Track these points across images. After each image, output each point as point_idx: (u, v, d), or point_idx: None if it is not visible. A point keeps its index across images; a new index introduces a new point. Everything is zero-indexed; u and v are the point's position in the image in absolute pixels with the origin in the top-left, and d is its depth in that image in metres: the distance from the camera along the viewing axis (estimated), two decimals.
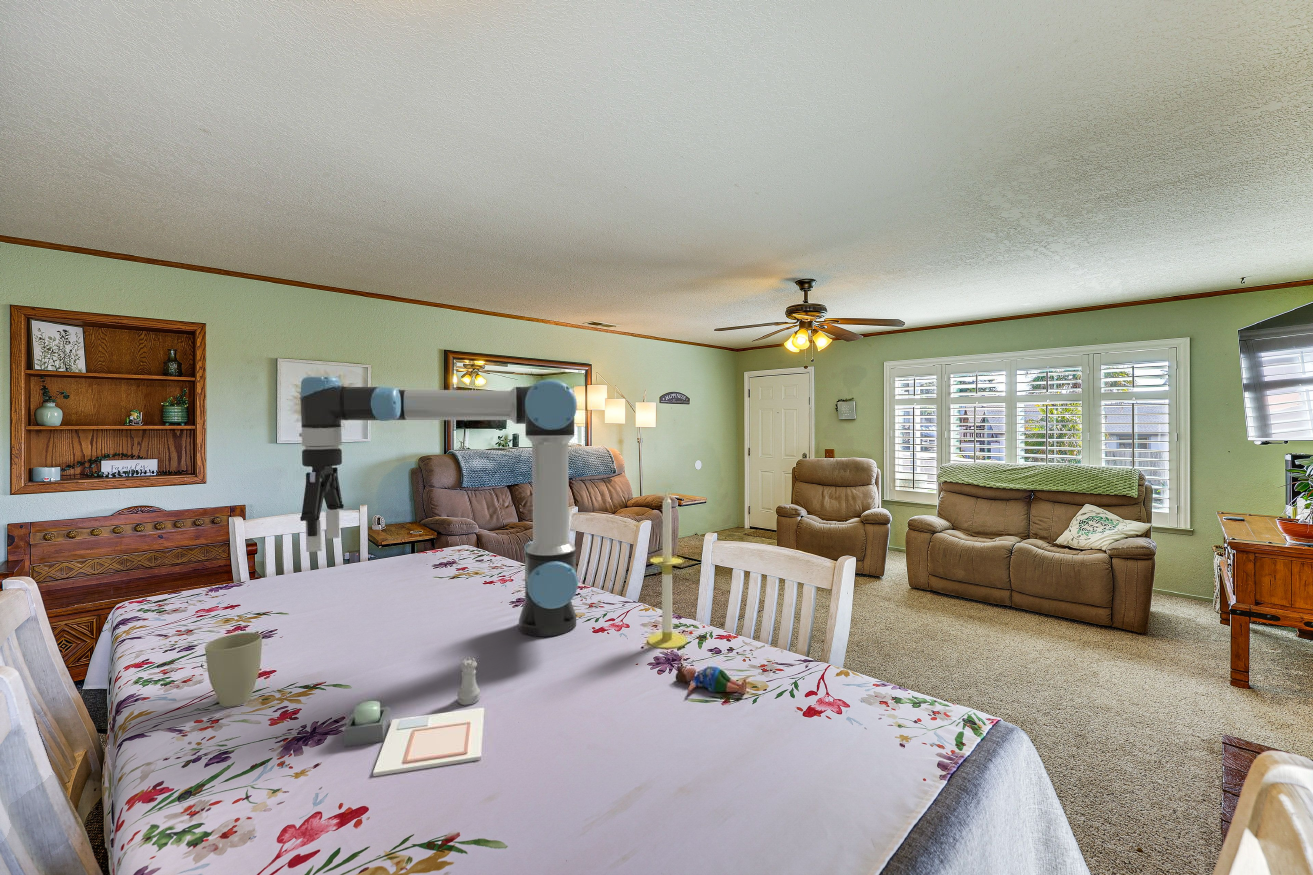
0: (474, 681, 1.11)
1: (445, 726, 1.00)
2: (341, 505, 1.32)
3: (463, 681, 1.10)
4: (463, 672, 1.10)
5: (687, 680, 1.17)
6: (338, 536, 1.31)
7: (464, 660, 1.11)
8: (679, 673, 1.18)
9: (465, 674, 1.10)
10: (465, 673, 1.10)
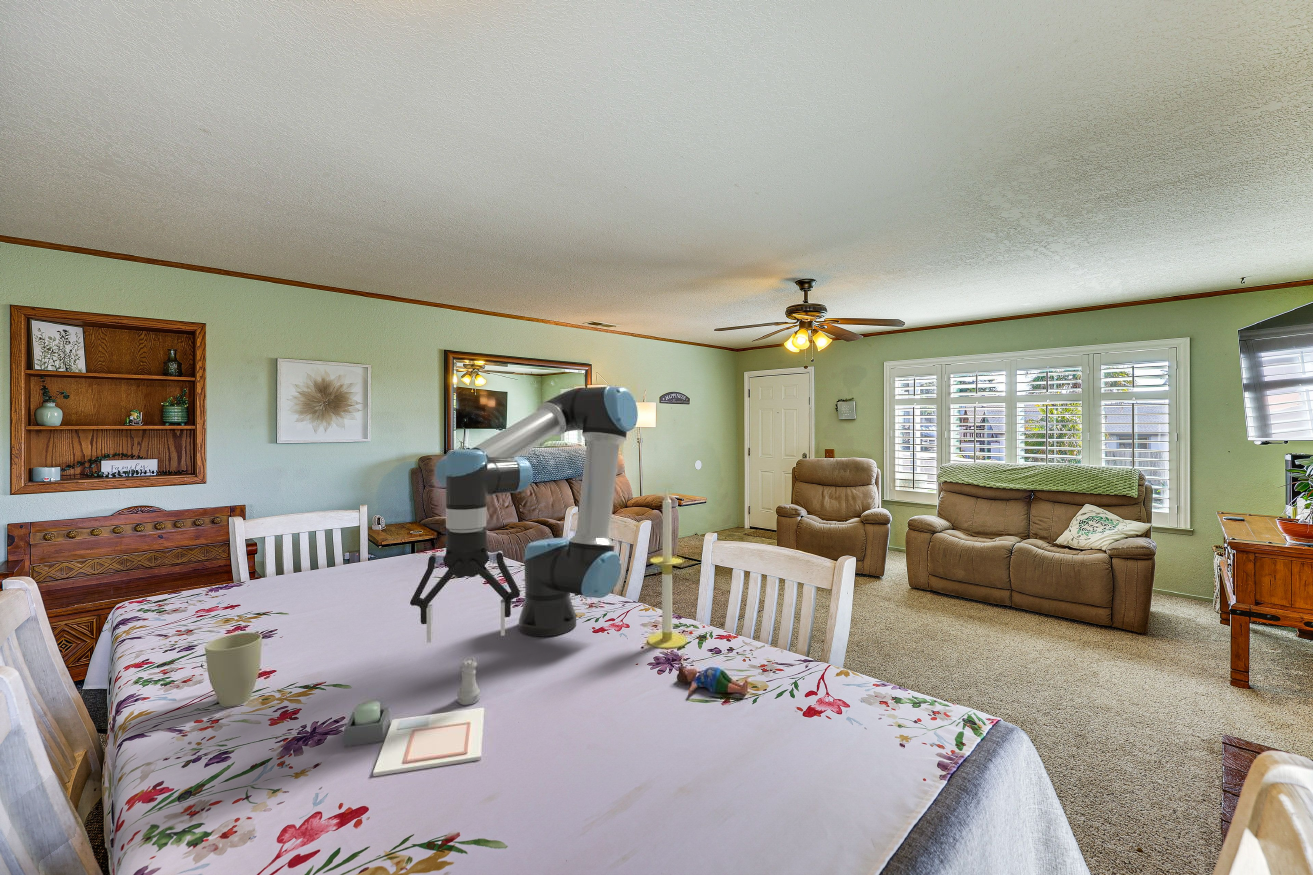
0: (474, 681, 1.11)
1: (445, 726, 1.00)
2: (508, 598, 1.11)
3: (463, 681, 1.10)
4: (463, 672, 1.10)
5: (688, 681, 1.17)
6: (501, 633, 1.11)
7: (464, 660, 1.11)
8: (680, 674, 1.18)
9: (465, 674, 1.10)
10: (465, 673, 1.10)
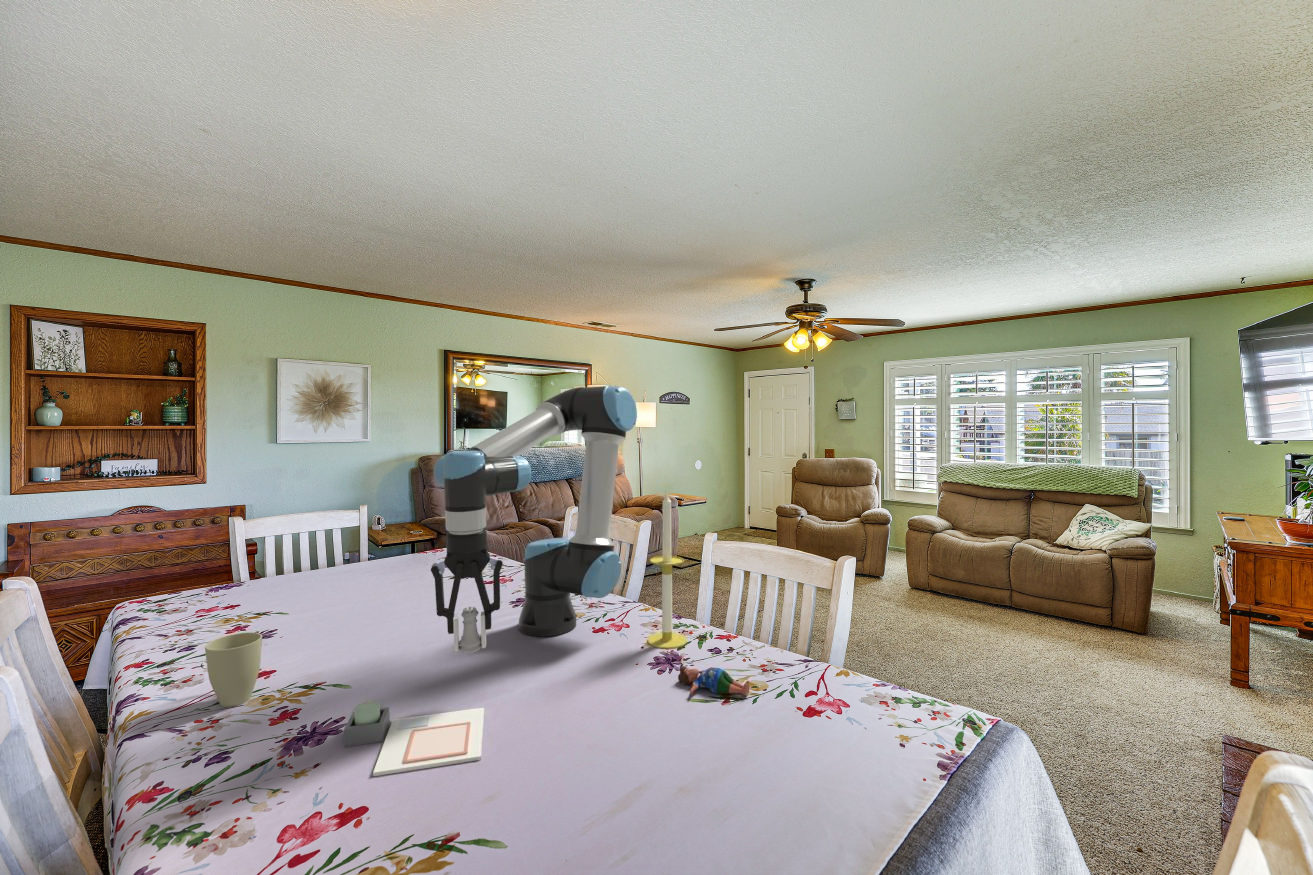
0: (475, 630, 1.11)
1: (445, 726, 1.00)
2: (488, 611, 1.10)
3: (464, 629, 1.10)
4: (464, 620, 1.10)
5: (690, 681, 1.17)
6: (482, 646, 1.11)
7: (465, 609, 1.11)
8: (682, 674, 1.18)
9: (466, 622, 1.10)
10: (466, 621, 1.10)
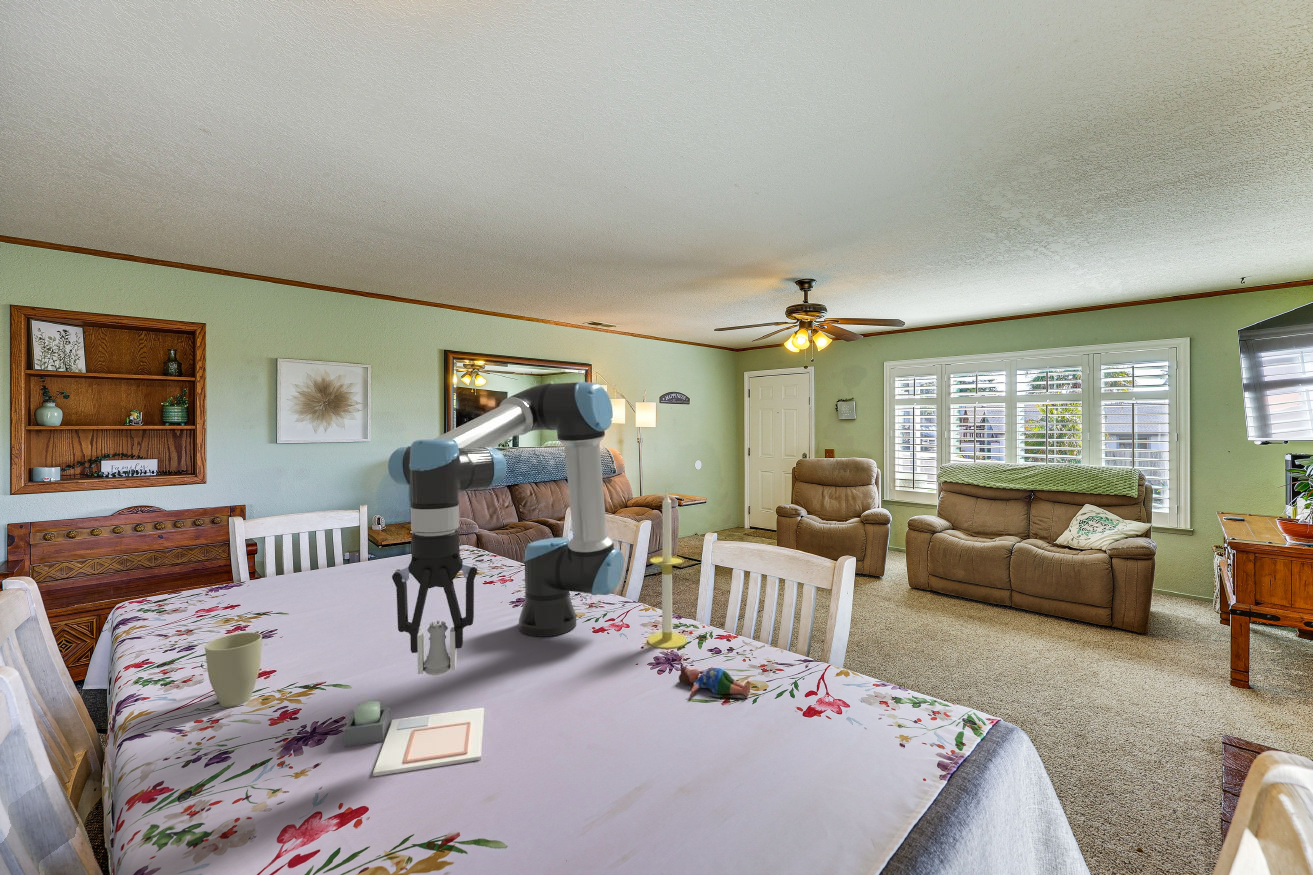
0: (444, 648, 0.95)
1: (445, 726, 1.00)
2: (459, 627, 0.94)
3: (431, 647, 0.94)
4: (431, 637, 0.94)
5: (690, 681, 1.17)
6: (450, 668, 0.95)
7: (433, 623, 0.95)
8: (682, 674, 1.17)
9: (433, 639, 0.94)
10: (433, 638, 0.94)
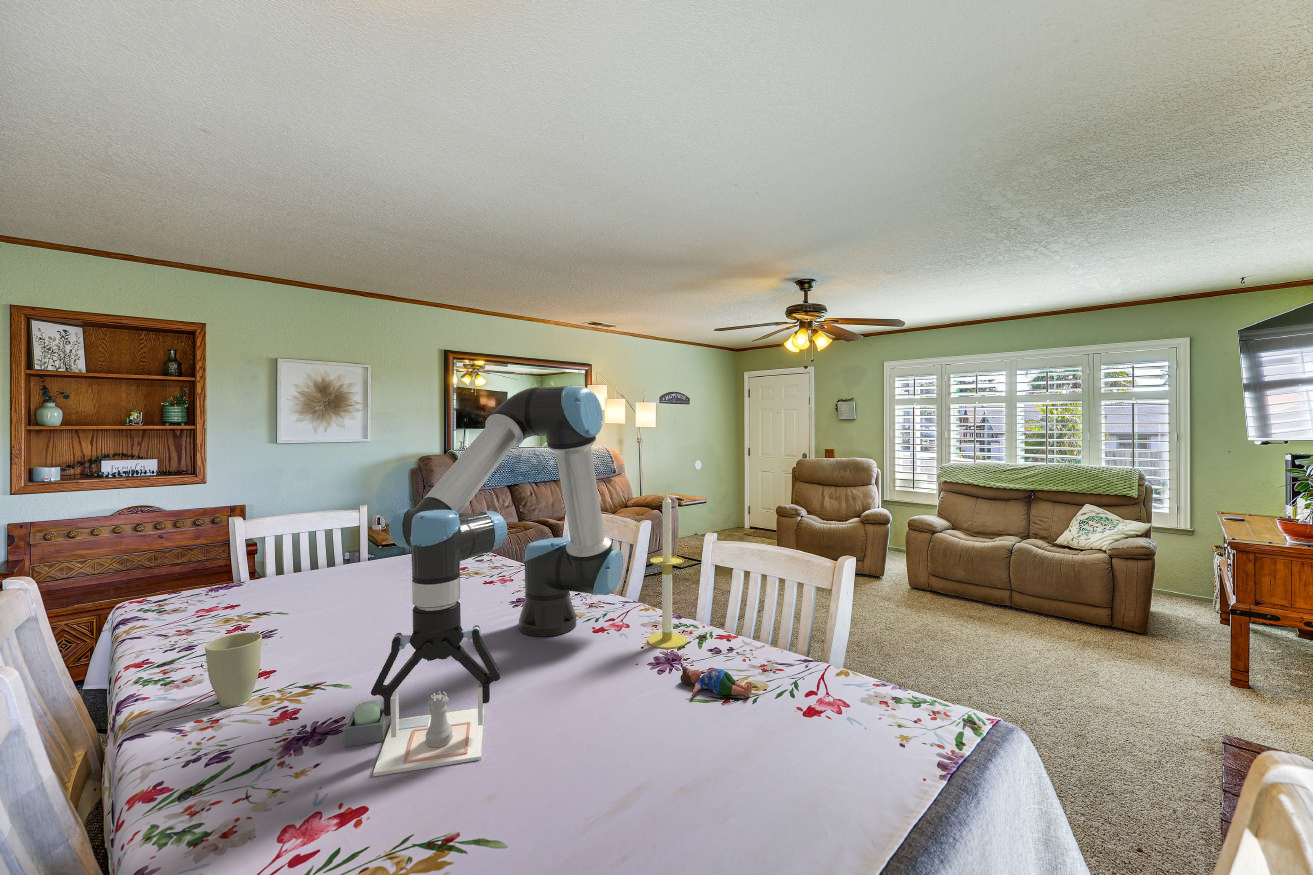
0: (445, 719, 0.95)
1: None
2: (486, 682, 0.96)
3: (432, 720, 0.95)
4: (432, 709, 0.95)
5: (692, 682, 1.17)
6: (478, 723, 0.96)
7: (433, 695, 0.96)
8: (684, 675, 1.17)
9: (434, 711, 0.94)
10: (434, 710, 0.94)
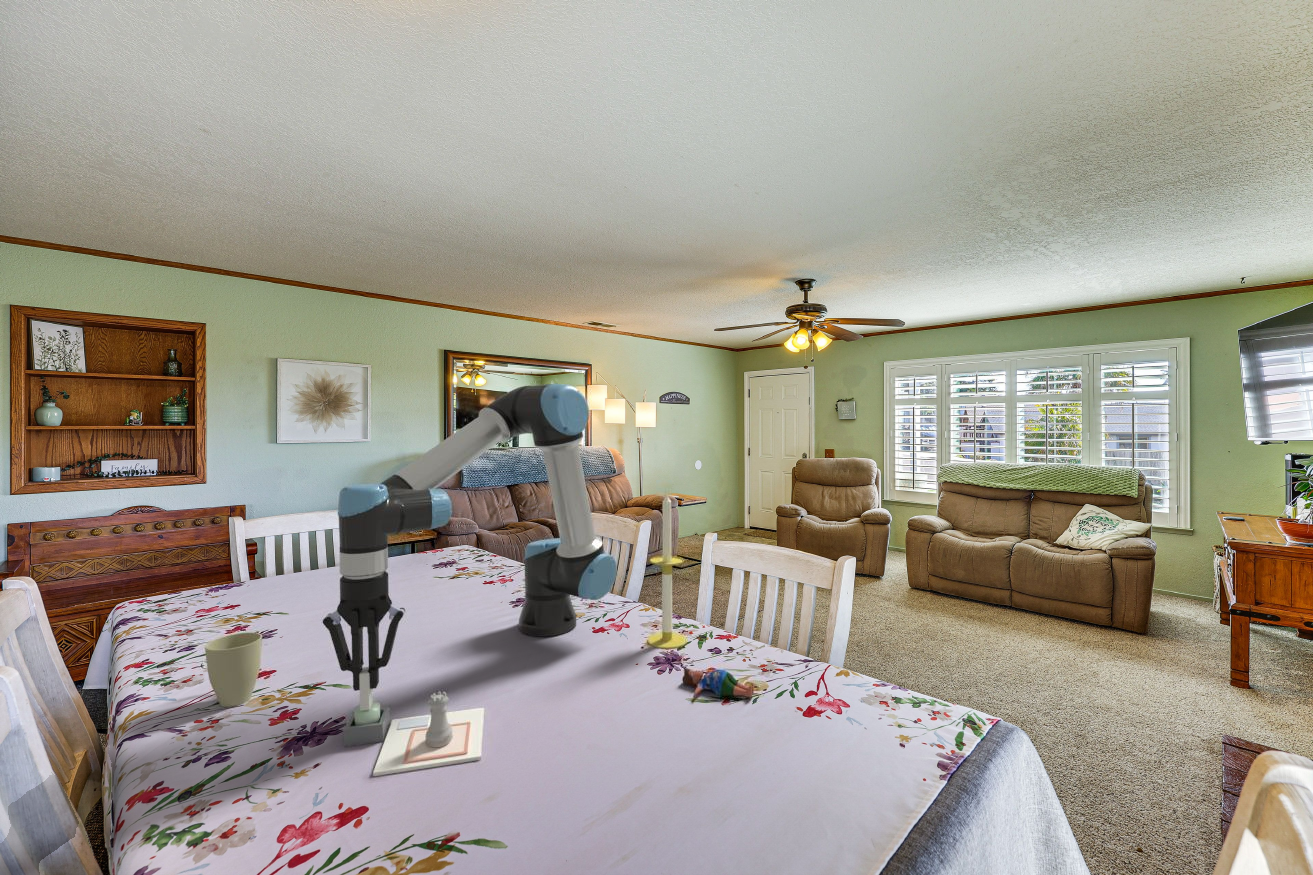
0: (445, 719, 0.95)
1: None
2: (373, 669, 0.98)
3: (432, 720, 0.95)
4: (432, 709, 0.95)
5: (694, 683, 1.16)
6: (365, 708, 0.98)
7: (433, 695, 0.96)
8: (686, 676, 1.17)
9: (434, 711, 0.94)
10: (434, 710, 0.94)
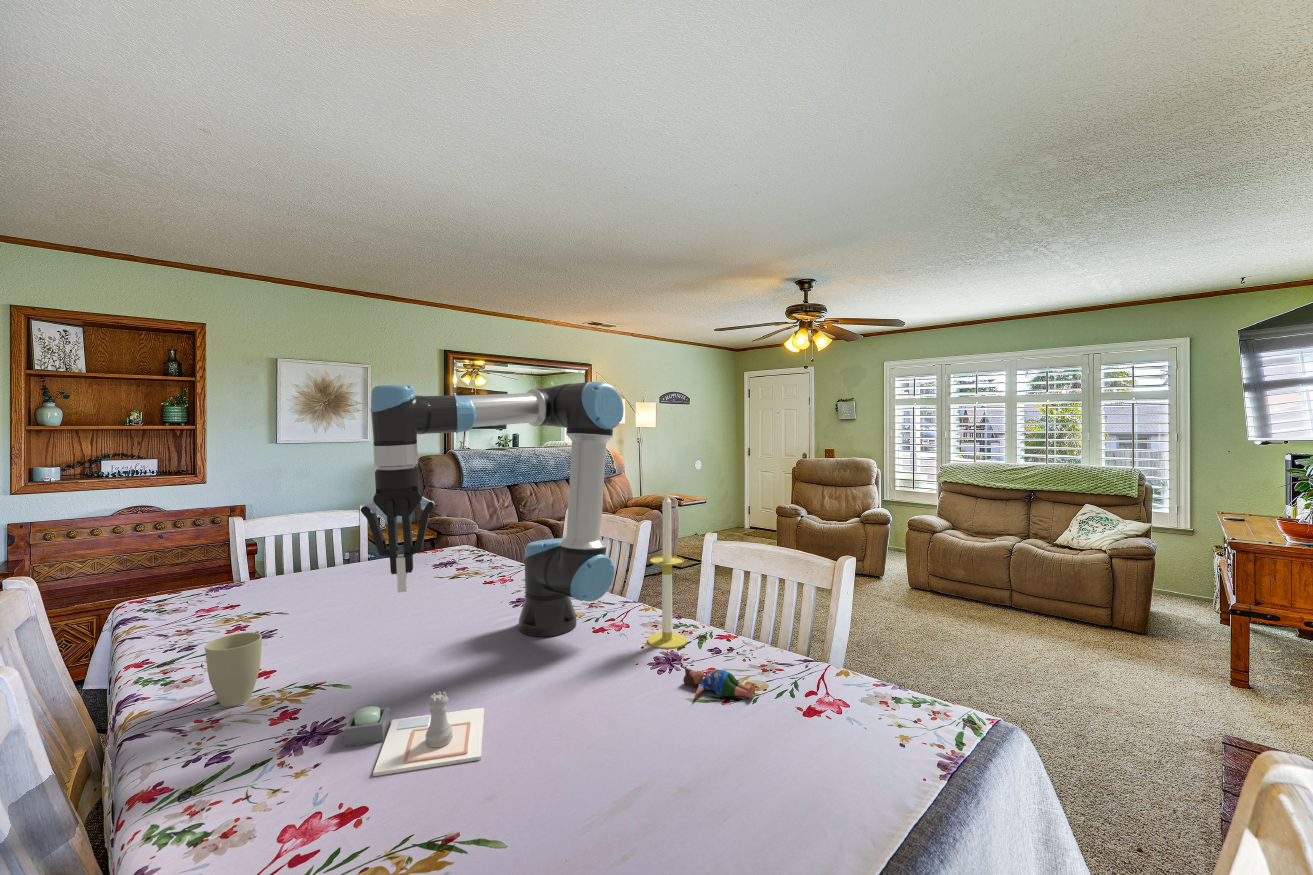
0: (445, 719, 0.95)
1: None
2: (408, 554, 1.06)
3: (432, 720, 0.95)
4: (432, 709, 0.95)
5: (695, 683, 1.16)
6: (402, 590, 1.07)
7: (433, 695, 0.96)
8: (687, 676, 1.17)
9: (434, 711, 0.94)
10: (434, 710, 0.94)
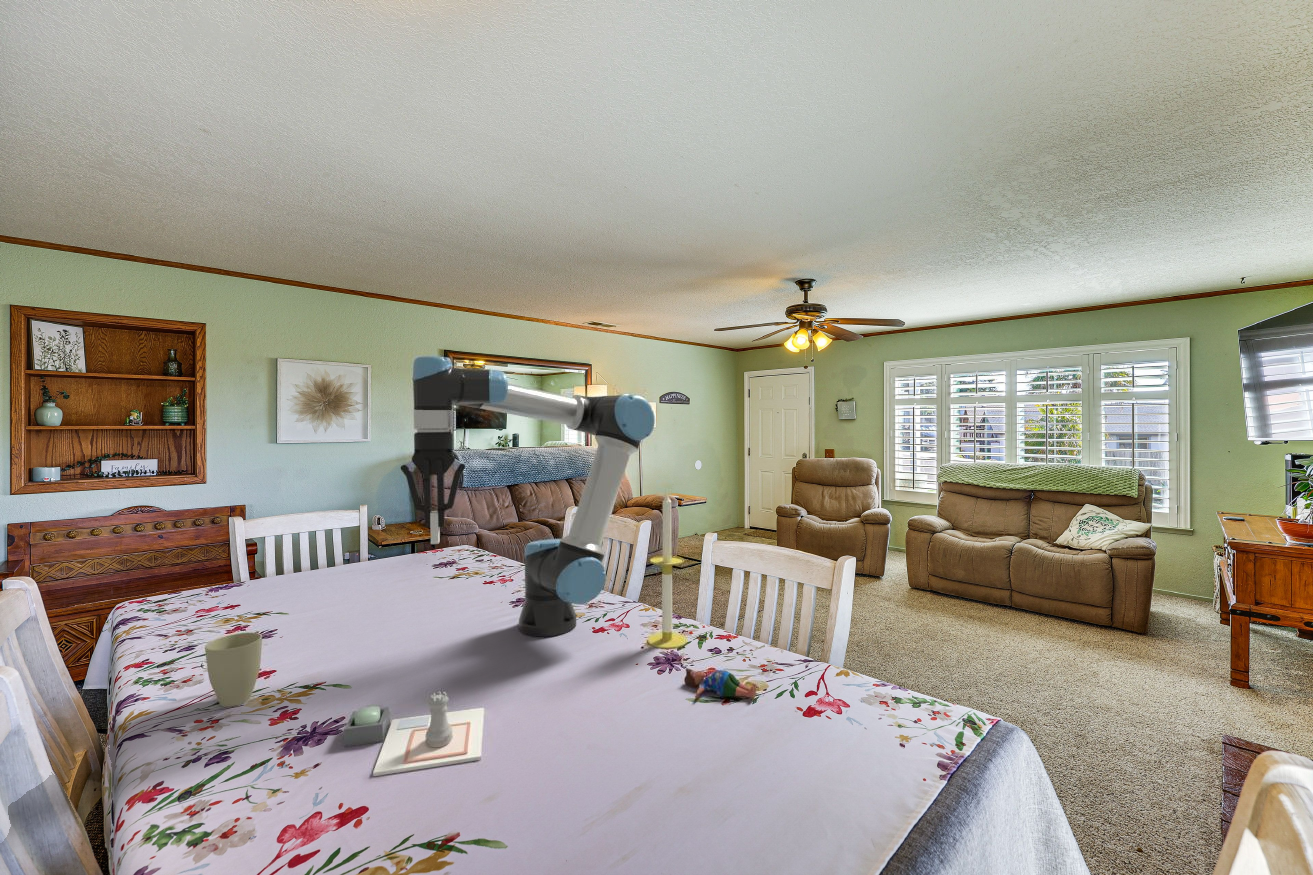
0: (445, 719, 0.95)
1: None
2: (441, 509, 1.18)
3: (432, 720, 0.95)
4: (432, 709, 0.95)
5: (696, 683, 1.16)
6: (434, 542, 1.18)
7: (433, 695, 0.96)
8: (688, 676, 1.17)
9: (434, 711, 0.94)
10: (434, 710, 0.94)
